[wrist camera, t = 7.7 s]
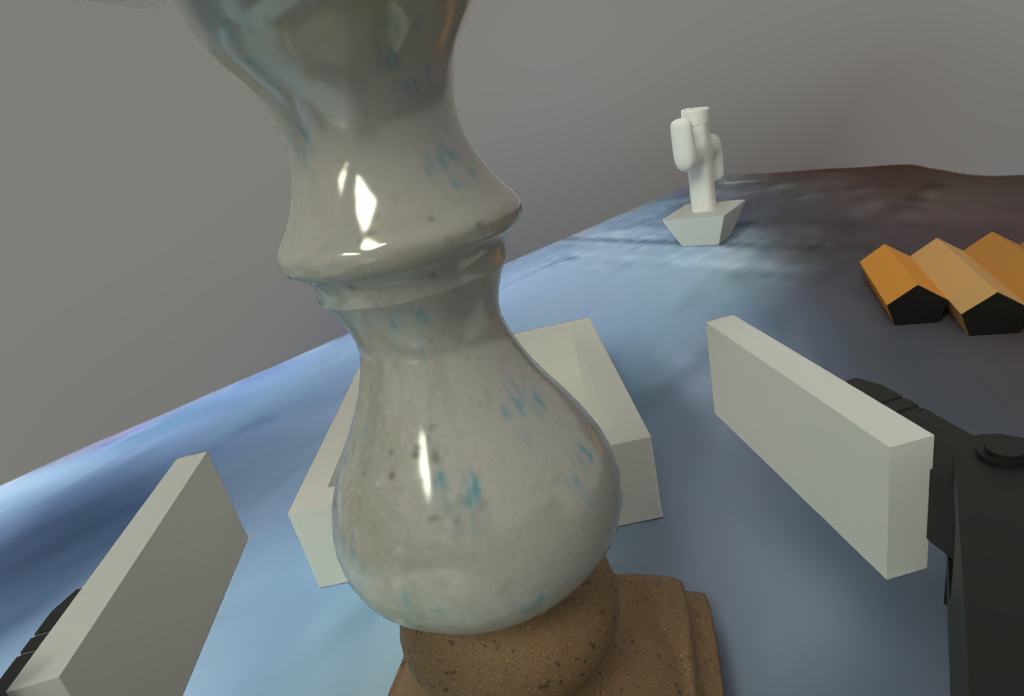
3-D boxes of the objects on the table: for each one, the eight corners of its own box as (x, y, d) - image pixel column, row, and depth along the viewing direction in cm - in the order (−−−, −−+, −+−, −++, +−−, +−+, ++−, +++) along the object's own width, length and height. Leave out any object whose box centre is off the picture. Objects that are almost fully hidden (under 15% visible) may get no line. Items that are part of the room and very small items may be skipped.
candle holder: (444, 625, 25) (227, -7, 17) (714, 624, 23) (623, -136, 14) (323, 968, 16) (-356, -127, 7) (772, 1043, 13) (588, -644, 4)
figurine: (751, 227, 72) (742, 95, 67) (723, 251, 66) (710, 107, 60) (693, 230, 77) (680, 107, 71) (661, 253, 70) (644, 119, 65)
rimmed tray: (320, 587, 29) (287, 513, 28) (377, 421, 45) (358, 367, 43) (663, 516, 29) (650, 436, 27) (598, 373, 44) (589, 317, 43)
